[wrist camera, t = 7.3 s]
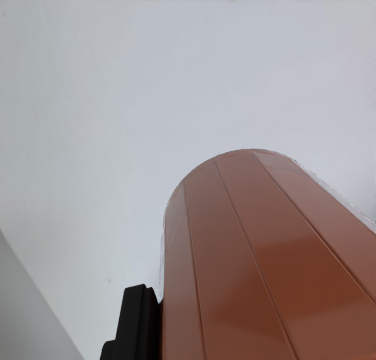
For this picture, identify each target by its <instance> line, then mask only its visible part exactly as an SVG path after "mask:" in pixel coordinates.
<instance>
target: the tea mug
mask: <svg viewBox="0 0 376 360" xmlns="http://www.w3.org/2000/svg"><path fill="white" fill-rule="evenodd" d="M156 360H376V224H375V223H374V222H373V221H371V220H370V219H369V218H368V217H366V216H365V215H364V214H363V213H362V212H360V211H359V210H358V209H357V208H356V207H354V206H353V205H352V204H351V203H350V202H348V201H347V200H346V199H345V198H344V197H342V196H341V195H340V194H339V193H337V192H336V191H335V190H334V189H333V188H331V187H330V186H329V185H328V184H327V183H325V182H324V181H323V180H322V179H321V178H319V177H318V176H317V175H316V174H315V173H313V172H311V171H310V170H308V169H306V168H305V167H304V166H303V165H301V164H300V163H298V162H297V161H296V160H294V159H292V158H290V157H288V156H286V155H283V154H280V153H278V152H274V151H269V150H264V149H241V150H235V151H230V152H227V153H223V154H220V155H217V156H215V157H213V158H211V159H209V160H207V161H205V162H204V163H202V164H200V165H199V166H197V167H196V168H195V169H193V170H192V171H191V172H190V173H189V174H188V175H187V176H186V177H185V178H184V179H183V180H182V181H181V182H180V183H179V185H178V186H177V187H176V189H175V190H174V192H173V194H172V195H171V197H170V199H169V201H168V204H167V207H166V209H165V214H164V218H163V230H162V237H161V254H160V281H159V307H158V333H157V359H156Z"/></svg>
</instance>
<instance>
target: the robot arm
mask: <svg viewBox="0 0 376 360" xmlns="http://www.w3.org/2000/svg"><path fill="white" fill-rule="evenodd" d="M158 307H159V304H158V301H157V298H156V295H155V292H154V290H153V288H152V287H150V288H146V286H145V284H141V285H137V286H132V287H128V288H126V289H125V290H124V295H123V300H122V306H121V311H120V317H119V322H118V327H117V333H116V338H115V340H111V341H107V342H105V344H104V345H103V348H102V352H101V356H100V360H156V359H157V333H158Z"/></svg>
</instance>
